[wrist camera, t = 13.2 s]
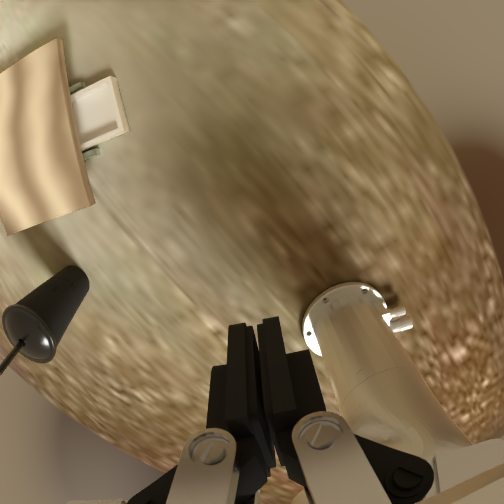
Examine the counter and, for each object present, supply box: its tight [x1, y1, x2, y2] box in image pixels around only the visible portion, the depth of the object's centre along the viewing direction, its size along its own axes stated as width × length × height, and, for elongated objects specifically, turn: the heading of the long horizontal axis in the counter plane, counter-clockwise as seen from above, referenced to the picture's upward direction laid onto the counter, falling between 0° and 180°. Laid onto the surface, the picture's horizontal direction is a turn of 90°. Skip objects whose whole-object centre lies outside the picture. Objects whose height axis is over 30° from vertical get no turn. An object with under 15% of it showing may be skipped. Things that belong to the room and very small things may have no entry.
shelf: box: [0, 38, 100, 236], centre depth 28 cm, size 14×20×6 cm
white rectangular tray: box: [70, 76, 130, 151], centre depth 30 cm, size 14×7×2 cm, turn 104°
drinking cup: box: [0, 266, 89, 375], centre depth 29 cm, size 8×8×20 cm
